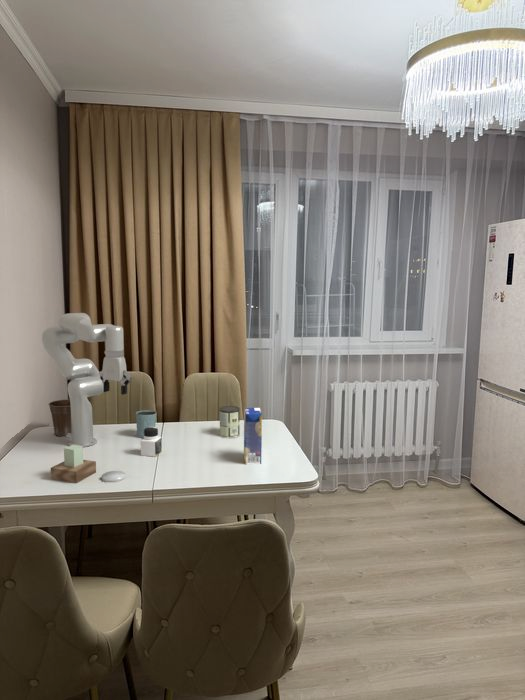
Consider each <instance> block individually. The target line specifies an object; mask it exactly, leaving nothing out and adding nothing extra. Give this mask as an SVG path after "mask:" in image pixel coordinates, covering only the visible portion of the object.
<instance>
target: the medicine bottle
mask: <svg viewBox="0 0 525 700" xmlns="http://www.w3.org/2000/svg"><path fill="white" fill-rule="evenodd" d="M144 437H145V438H141V440H140V456H143V457H154V458H155V457H157V456H158V455H160V453H162V451H163V450H162V445H163V444H162V441H163V440H162V437H161V436H159V430H158V428H157V427H156V426H155V427H147V428H145V429H144Z"/></svg>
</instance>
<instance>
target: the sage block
mask: <svg viewBox="0 0 525 700" xmlns="http://www.w3.org/2000/svg"><path fill="white" fill-rule="evenodd" d="M63 457H64V459H63V460H64V461H63V462H64V465H65V466H70V467H76V466H78V465H81V464H83V460H84V447H83V446H78V445H71V446H70V445H69V446H65V447H64V448H63Z"/></svg>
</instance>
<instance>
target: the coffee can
mask: <svg viewBox="0 0 525 700" xmlns="http://www.w3.org/2000/svg"><path fill="white" fill-rule="evenodd" d="M240 411H241V407H238V406H235V405H224V406H221V407H219V437H221V438H224V439H235V438H238V437H240V436H241V435H240V434H241V433H240V430H241V429H240V428H241V427H240V426H241V425H240V416H241V415H240Z"/></svg>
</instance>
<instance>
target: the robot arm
mask: <svg viewBox="0 0 525 700" xmlns="http://www.w3.org/2000/svg"><path fill="white" fill-rule="evenodd" d="M91 319H92V318H91V317H90V316H89V315H88V314H87V313H85V312H72V313H65V314H62V315H61V316H60V318H59V319H58V326H51V327H48V328H46V329H44V331H43V332H42V333H41V343H42V345H43V349H45V351H46V352H47V354H48V355H49V356H50V357H51V359H53V361H54V364H56V367H57V369H58V370H59V372H60V374H61V375H62V377H63V378H64V379H65V380H67V381H69V382H68V384H67V393H68V397H69V398H68V399H70V406H71V428H72V433H68V434H67V435H66V438H67V439H69V441H68V445H69V446H71V445H78V446H83V448H86V447H91V446H93V445H94V446H95V444H97V438H94V429H93V428H94V426H93V425H94V423H93V421H94V420H93V406H92V404H91V402H90V401H89V399H88V398H90V397H96V396H100V395H102V394H103V393H107V392H110V389H111V388H110V382H120V384H121V386H120V392H121V393H120V394H121V395H127V394H128V385H129V384H130V382H131V380H132V378H133V375H131V374H130V373H129V372H127V363H126V358H125V357H124V355H125V353H124V352H125V351H124V348H125V347H124V327H123V326H120V325H114V324H111V323H104V324H103V323H101V324H99V323H98V324H92V320H91ZM79 341H84V342H87V343H98V342H105V350H104V351H103V352H104V355H105V357H104V358H103V363H102V370H100V371H99V369H98V367H97V366H96V365H95V363H94V361H93V360H91V359H90V358H75V357H74V356H73V353H71V351H70V350H69V349H68V348H67V347H65V346H64V345H63V344H74V343H77V342H79Z"/></svg>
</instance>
